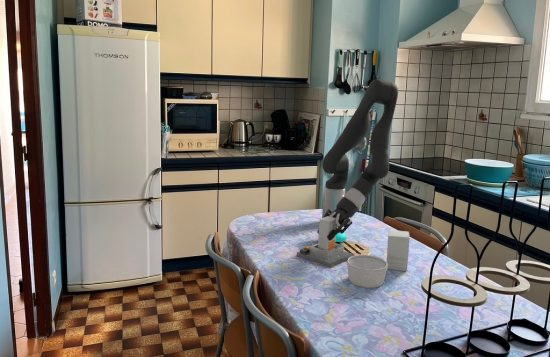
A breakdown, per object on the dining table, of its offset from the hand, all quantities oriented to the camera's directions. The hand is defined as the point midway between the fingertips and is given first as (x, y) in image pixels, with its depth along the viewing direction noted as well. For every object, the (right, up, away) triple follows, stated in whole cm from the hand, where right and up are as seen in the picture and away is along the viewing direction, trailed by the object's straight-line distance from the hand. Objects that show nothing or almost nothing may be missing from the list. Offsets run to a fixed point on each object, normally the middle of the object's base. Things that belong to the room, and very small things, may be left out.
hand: (323, 236), depth 174 cm
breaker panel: (+1, -8, +2) cm, 8 cm away
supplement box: (+26, -10, -6) cm, 28 cm away
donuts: (+7, -4, +21) cm, 23 cm away
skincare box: (+1, -5, +2) cm, 6 cm away
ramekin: (+12, -13, -19) cm, 26 cm away
